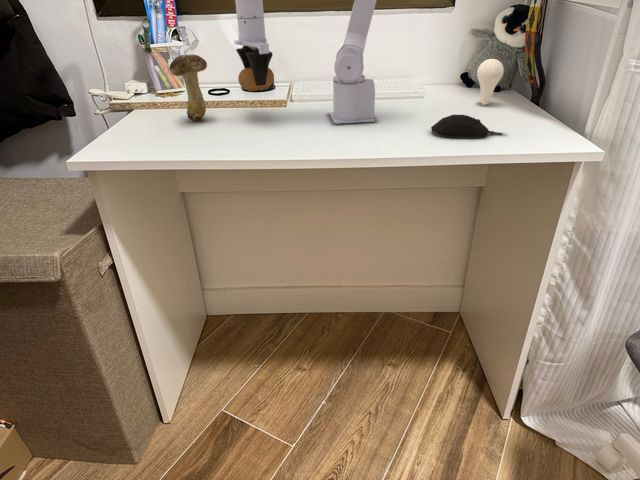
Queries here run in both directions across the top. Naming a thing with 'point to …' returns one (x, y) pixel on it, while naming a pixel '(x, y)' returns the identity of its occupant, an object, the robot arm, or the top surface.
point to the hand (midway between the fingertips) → (256, 82)
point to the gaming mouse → (461, 127)
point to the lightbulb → (489, 78)
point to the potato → (249, 83)
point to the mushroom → (191, 82)
